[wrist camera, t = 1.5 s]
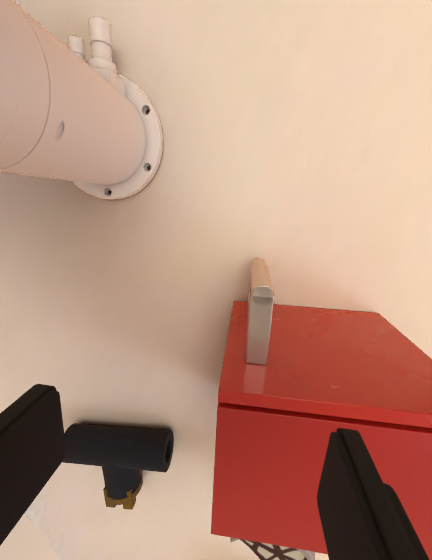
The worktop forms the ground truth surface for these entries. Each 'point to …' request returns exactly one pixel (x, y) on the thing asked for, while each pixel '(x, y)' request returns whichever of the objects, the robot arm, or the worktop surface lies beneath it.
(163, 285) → the worktop surface
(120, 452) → the pipe connector
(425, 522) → the valve cabinet
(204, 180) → the worktop surface
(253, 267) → the red cabinet door
